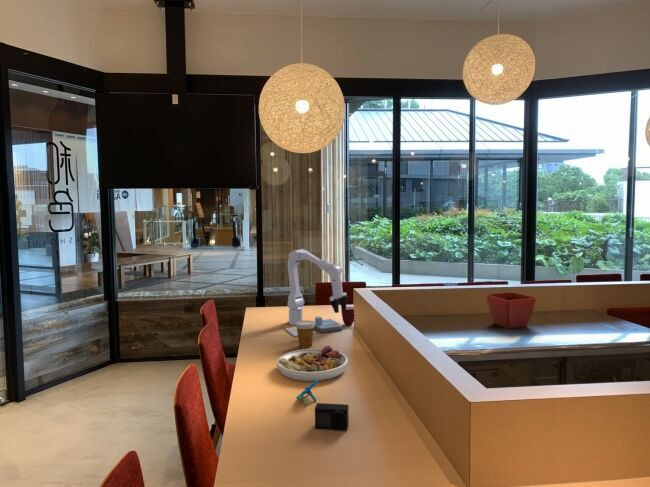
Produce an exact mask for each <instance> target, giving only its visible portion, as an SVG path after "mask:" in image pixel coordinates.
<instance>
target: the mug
mask: <svg viewBox="0 0 650 487" xmlns="http://www.w3.org/2000/svg"><path fill="white" fill-rule="evenodd" d="M354 307H355V306H347V305H346V310H342V308H341V307H340V309H341V310H340V311H341V317H342V322H343V323H344V326H349V327H350V326H352V325H354V323H355V322H354V321H355V318H354V316H355V315H354Z"/></svg>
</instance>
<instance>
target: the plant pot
mask: <svg viewBox="0 0 650 487" xmlns="http://www.w3.org/2000/svg"><path fill="white" fill-rule="evenodd" d="M536 299H537V298H536V297H534V296H530V295H526V294H522V293H518V292H514V291H513V292H498V293H487V294H486V300H487V306H488V310H489V312H490V313H489V314H490V317H491V319H492V322H493V324H494V325H497V326H500V327H503V328H506V329H517V328H525V327H527V326H528V324H529V323H530V322H529V321H530V319H531V317H532V314H533V311H534V308H535V304H536Z"/></svg>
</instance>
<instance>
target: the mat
mask: <svg viewBox="0 0 650 487" xmlns="http://www.w3.org/2000/svg"><path fill="white" fill-rule="evenodd" d="M284 330H285V331H286V332H288V333H289V335H291V336H292V335H293V337H294V338H295V336H297V337H298V333H297V328H296V326H294V327H293V326H292V327H286V328H284ZM317 334H318V333H317V332H316V331H315V330H314V331H313V335H317Z"/></svg>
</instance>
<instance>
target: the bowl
mask: <svg viewBox="0 0 650 487" xmlns="http://www.w3.org/2000/svg"><path fill="white" fill-rule="evenodd" d="M276 366H277V370H278V371H279V372H280V373H281V374H282V376H284V377H286V378H289V379H290V380H291V379H292V380H294V381H299V382H315V381H316V380H317V381H318V382H321V381H322V382H323V381H327V380H332V379H334V378H336V377H338V376H340V375H342V374H343V373H344V372H345V370H346V369H347V366H348V357H347V356H346V355H345V354H343V353H341V352H339V350H337V349H333V347H331V346H330V345H325V346H324V347H323V348H303V349H299V350H298V349H297V350H293V351H289V352H287V353H284V354H282V355H280V357H279V358H277V359H276Z"/></svg>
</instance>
